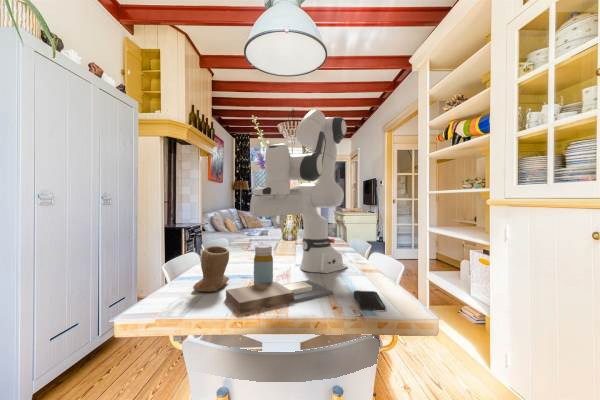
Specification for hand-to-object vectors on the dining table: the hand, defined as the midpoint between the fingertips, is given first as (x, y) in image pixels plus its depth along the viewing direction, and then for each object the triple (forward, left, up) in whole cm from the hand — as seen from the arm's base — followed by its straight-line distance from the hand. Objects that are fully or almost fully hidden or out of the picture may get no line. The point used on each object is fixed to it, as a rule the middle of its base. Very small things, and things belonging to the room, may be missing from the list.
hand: (278, 228), depth 105 cm
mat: (-7, +6, -22) cm, 24 cm away
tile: (-4, +6, -21) cm, 22 cm away
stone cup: (+19, -14, -22) cm, 33 cm away
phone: (-20, +25, -23) cm, 39 cm away
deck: (+10, +6, -22) cm, 25 cm away
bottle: (+3, -6, -22) cm, 23 cm away
